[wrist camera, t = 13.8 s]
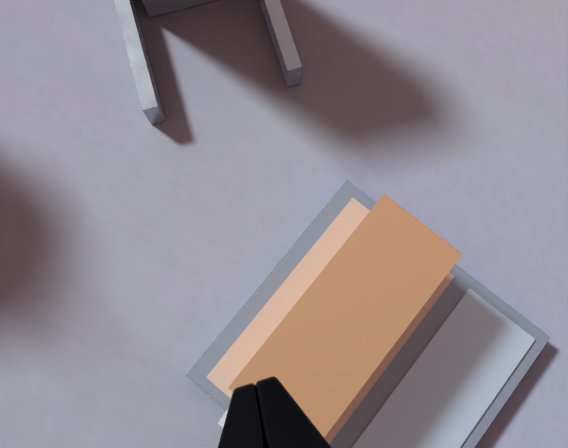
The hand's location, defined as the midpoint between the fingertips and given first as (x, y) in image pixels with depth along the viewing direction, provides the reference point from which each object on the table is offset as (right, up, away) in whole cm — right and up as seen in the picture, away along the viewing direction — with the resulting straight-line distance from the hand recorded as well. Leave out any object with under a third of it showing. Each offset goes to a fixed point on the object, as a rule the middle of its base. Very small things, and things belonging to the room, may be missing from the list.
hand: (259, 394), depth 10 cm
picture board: (+4, -2, +12) cm, 13 cm away
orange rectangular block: (+3, -1, +12) cm, 12 cm away
